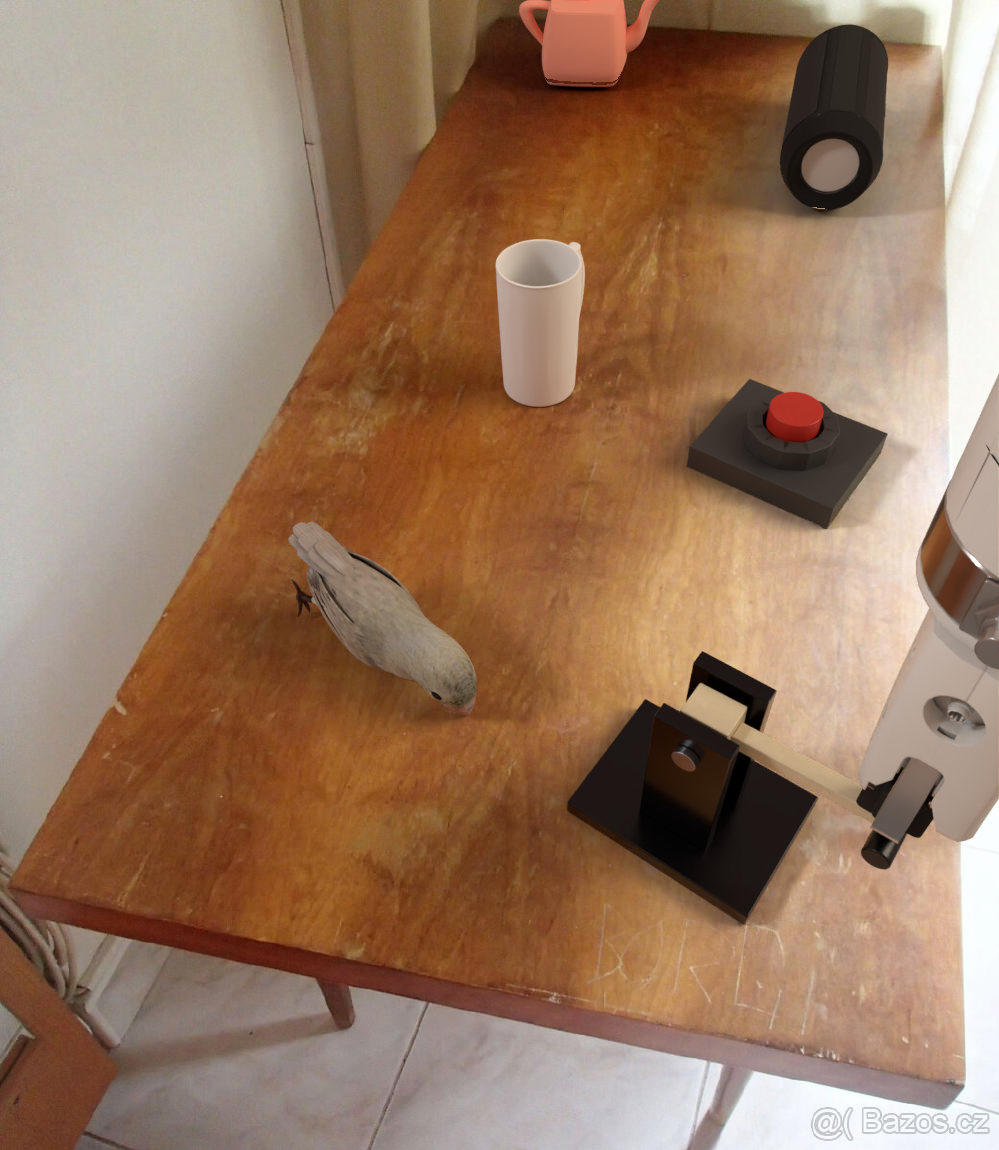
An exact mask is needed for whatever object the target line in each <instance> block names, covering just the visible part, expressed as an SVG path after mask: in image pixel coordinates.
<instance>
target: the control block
mask: <svg viewBox="0 0 999 1150" xmlns="http://www.w3.org/2000/svg"><path fill="white" fill-rule="evenodd" d="M782 393H785V392H784V391H781V390H779V389H777V388H774V387H771V386H769V385H767V384H764V383H761V382H759V381H756V380H754V379H751V378H748V380H747V381H746V382H745V383H744V384H743V385H742V387H740V389H739V390H738V391H737V392H736V393H735V394H734V396H733V397H731V398H730V400H729V401H728V402H727V403H726V405H724V407H723V408H722V409H721V410H720V412H718V414H716V416H715V417H714V418H713V419H712V420H711V421H710V422H709V424H708V425H707V426H706V427H705V428H704V429H703V430H702V432H700V433H699V435H698V436H697V437H696V438H695V439H694V440H693V441H692V443H691V444H690V445H689V448H688V453H687V461H686V467H687V468H690V469H692V470H694V471H697V472H699V473H700V474H703V475H705V476H708V477H710V478H712V479H714V480H717V481H718V482H721V483H723V484H726V485H728V486H730V487H732V488H734V489H736V490H739V491H741V492H743V493H745V494H748V495H749V496H752V497H754V498H756V499H759V500H761V501H763V502H766V503H768V504H770V505H772V506H775V507H777V508H779V509H780V510H784V511H786V512H788V513H790V514H792V515H794V516H797V517H799V518H801V519H803V520H805V521H808V522H811V523H812V524H815V525H817V526H820V527H822V528H823V529H825V530H828V528H829V527H830V526H831V525H832V523H833V522H834V520H835V519H836V518H837V516H838V514H839V513H840V512H841V510H842V508H843V507H844V506H845V505H846V503H847V502H848V500H849V499H850V497H852V495H853V493H854V492H855V491H856V490H857V488H858V486H859V485H860V484H861V482H862V481H863V480H864V478H865V476H866V475H867V474H868V472H869V471H870V469H871V468H872V467H873V465H874V464H875V462H876V461H877V460H878V458H879V457H880V455H881V453H882V451H883V448H884V446H885V442H886V439H887V437H888V433H887V432H885V431H882V430H880V429H877V428H875V427H872V426H870V425H867V424H866V423H865V424H864V423H863V422H860V421H857V420H854V419H852V418H850V417H847V416H844V415H843V414H839V413H837V412H835V411H833V410H832V409H831V408H830V407H829V406H828V405H827V404H826V403H825V402H823V401H820V400H818V401H819V402H820V404H821V405H822V407H823V412H824V413H823V417H822V421H821V425H820V428H819V431H818V434H817V435H816V436H815V437H814V438H813V439H811V440H809V441H807V442H803V443H801V442H786V441H784V440H781V439H779V438H776V437H774V436H773V435H772V434H771V433H770V432H769V431H768V429H767V427H766V419H767V415H768V410H769V406H770V402H771V401H772V399H773V398H774V397H776V396H777V395H779V394H782Z"/></svg>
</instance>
